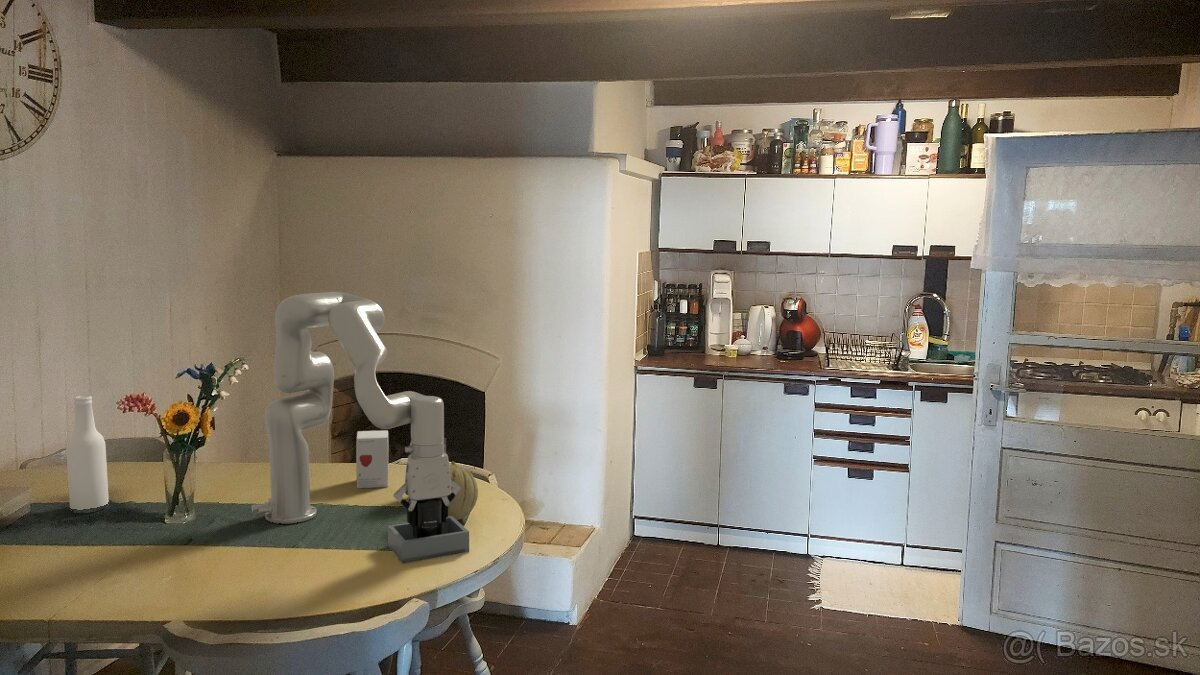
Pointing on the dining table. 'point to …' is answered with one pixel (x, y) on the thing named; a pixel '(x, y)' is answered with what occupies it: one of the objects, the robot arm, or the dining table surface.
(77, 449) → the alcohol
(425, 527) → the supplement bottle
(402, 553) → the tote
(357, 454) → the supplement box
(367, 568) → the dining table surface
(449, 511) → the cantaloupe
